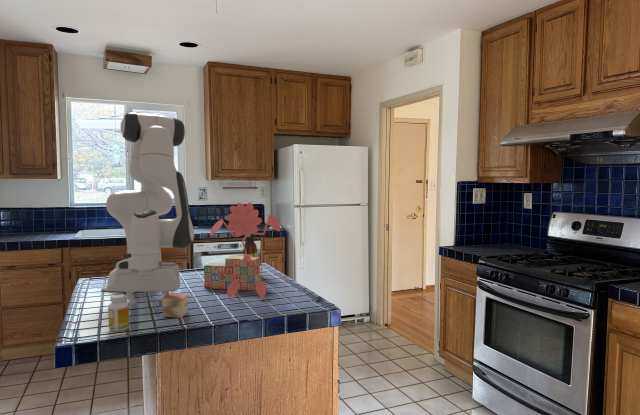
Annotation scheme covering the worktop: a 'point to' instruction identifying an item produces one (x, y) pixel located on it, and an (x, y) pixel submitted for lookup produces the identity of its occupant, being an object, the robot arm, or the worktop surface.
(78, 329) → the worktop surface
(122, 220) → the robot arm
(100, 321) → the worktop surface
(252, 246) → the sauce bottle
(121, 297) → the supplement bottle
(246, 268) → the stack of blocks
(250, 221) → the coral stemmed figure
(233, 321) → the worktop surface
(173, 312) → the maple cube
